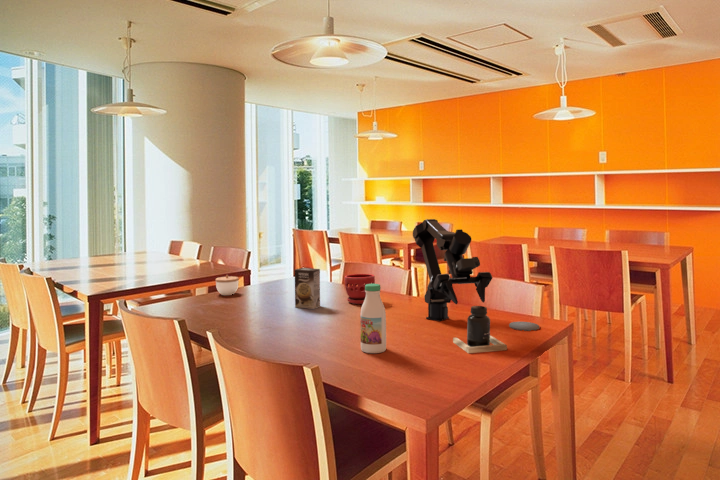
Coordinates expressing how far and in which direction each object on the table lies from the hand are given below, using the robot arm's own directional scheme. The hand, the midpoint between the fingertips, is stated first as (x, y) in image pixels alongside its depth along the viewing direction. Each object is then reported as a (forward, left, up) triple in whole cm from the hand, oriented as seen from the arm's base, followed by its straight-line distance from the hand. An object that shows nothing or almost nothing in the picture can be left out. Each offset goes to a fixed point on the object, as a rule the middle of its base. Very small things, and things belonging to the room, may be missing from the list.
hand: (470, 302), depth 156 cm
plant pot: (-64, +22, -12) cm, 69 cm away
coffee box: (-76, +2, -12) cm, 77 cm away
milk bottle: (-18, -27, -12) cm, 35 cm away
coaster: (+8, +25, -12) cm, 29 cm away
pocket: (+5, -4, -12) cm, 14 cm away
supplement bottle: (+5, -4, -12) cm, 14 cm away
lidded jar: (-127, -2, -12) cm, 128 cm away
